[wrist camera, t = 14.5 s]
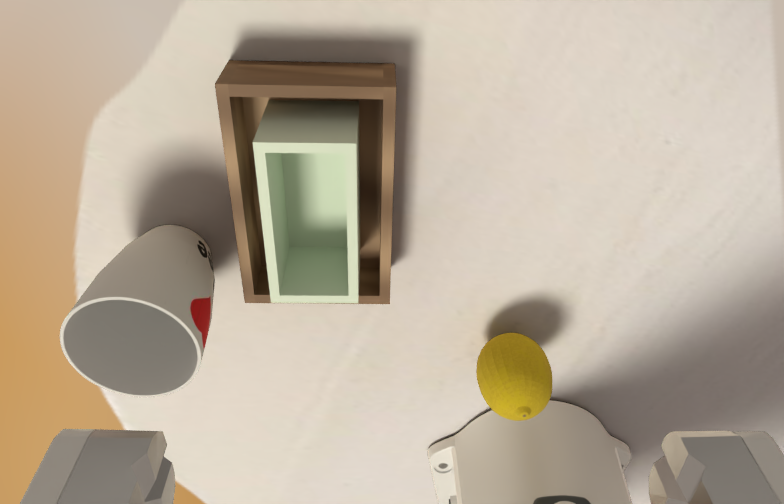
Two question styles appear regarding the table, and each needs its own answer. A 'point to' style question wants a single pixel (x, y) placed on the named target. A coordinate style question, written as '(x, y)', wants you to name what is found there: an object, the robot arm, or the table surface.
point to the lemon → (514, 376)
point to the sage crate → (310, 199)
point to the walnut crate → (376, 147)
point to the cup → (145, 316)
